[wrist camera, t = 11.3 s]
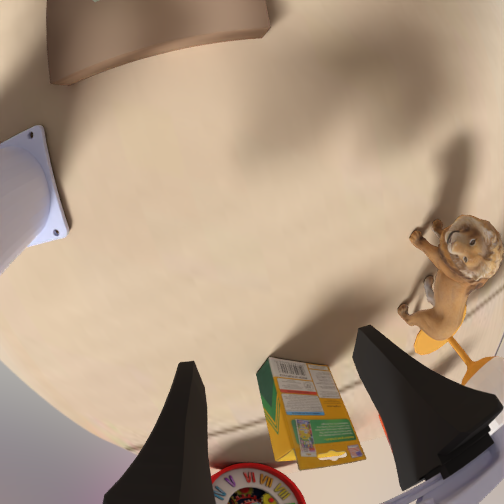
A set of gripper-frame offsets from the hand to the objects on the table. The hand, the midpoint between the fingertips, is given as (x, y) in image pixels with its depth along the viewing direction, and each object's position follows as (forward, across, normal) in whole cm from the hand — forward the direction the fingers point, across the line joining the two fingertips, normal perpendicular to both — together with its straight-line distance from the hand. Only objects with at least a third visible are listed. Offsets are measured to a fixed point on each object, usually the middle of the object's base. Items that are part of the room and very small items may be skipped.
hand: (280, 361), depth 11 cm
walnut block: (+10, +4, -20) cm, 23 cm away
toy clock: (+10, +6, +44) cm, 45 cm away
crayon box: (+10, -3, +14) cm, 17 cm away
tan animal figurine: (+10, -15, +3) cm, 18 cm away
